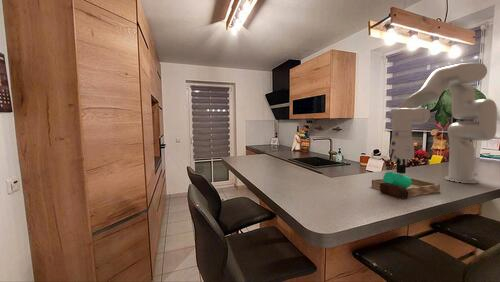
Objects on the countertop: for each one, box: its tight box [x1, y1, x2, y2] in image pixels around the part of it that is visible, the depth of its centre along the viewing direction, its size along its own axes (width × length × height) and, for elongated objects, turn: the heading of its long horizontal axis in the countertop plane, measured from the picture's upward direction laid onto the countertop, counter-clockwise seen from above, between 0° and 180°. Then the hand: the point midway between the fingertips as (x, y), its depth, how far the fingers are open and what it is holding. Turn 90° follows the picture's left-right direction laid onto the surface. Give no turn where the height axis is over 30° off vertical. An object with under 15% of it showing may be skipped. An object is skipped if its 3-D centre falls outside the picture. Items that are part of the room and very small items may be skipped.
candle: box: [382, 171, 412, 188], centre depth 99 cm, size 6×6×12 cm
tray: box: [371, 177, 441, 198], centre depth 101 cm, size 21×17×3 cm
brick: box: [379, 182, 409, 200], centre depth 92 cm, size 11×4×5 cm, turn 15°
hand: (400, 172), depth 100 cm, fingers closed
